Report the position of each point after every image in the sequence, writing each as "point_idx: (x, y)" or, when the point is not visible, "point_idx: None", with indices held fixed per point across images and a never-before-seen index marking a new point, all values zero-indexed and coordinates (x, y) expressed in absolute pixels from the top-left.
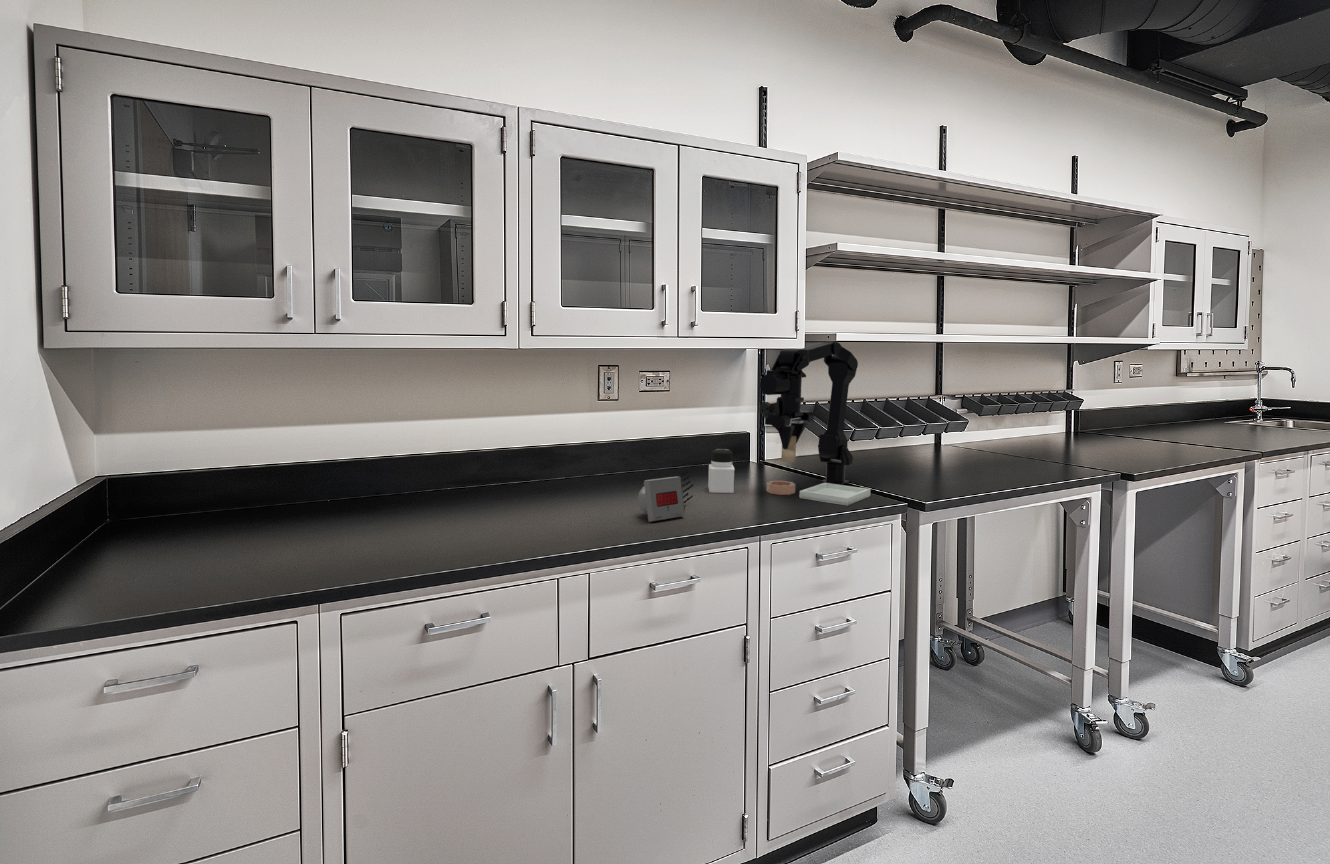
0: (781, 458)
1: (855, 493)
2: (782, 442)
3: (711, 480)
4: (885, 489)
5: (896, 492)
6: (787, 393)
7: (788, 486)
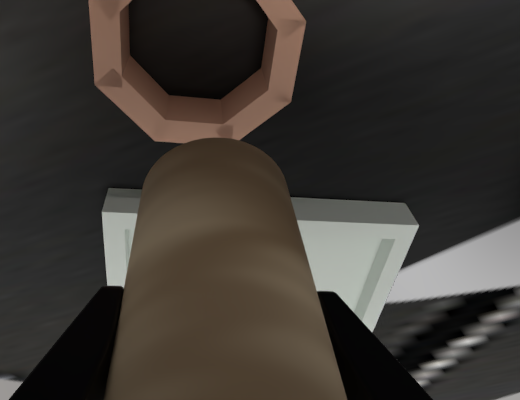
0: (173, 158)
1: None
2: (48, 365)
3: None
4: (496, 352)
5: (451, 382)
6: None
7: (146, 130)
